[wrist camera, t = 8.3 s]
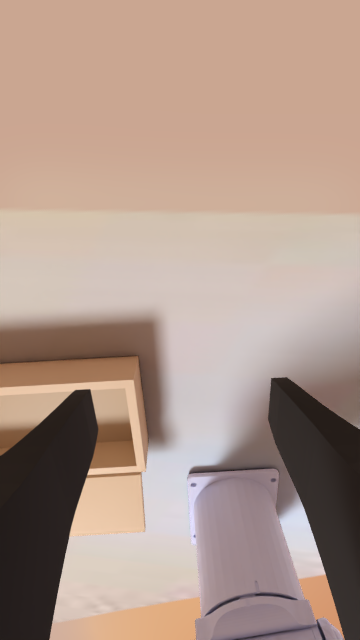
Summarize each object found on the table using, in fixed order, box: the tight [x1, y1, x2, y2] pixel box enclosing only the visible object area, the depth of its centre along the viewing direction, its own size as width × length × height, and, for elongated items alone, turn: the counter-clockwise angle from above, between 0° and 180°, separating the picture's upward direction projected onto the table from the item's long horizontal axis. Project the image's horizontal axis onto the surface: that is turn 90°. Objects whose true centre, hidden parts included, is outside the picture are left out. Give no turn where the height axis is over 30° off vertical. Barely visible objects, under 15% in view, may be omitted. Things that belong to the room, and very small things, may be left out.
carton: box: [0, 356, 149, 475], centre depth 22 cm, size 8×16×3 cm, turn 93°
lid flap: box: [69, 472, 145, 536], centre depth 23 cm, size 4×15×1 cm, turn 93°
